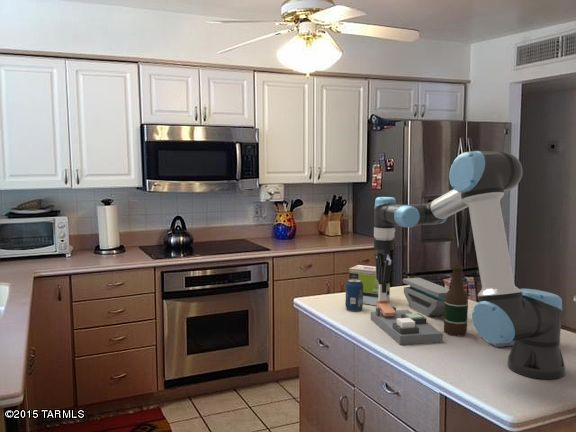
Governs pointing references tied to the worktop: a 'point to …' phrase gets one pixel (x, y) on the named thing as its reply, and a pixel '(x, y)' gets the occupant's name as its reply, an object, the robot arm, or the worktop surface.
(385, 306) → the rocker switch
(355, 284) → the soda can
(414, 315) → the green button
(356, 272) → the tea box
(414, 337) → the control console
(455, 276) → the beer bottle
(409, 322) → the white button
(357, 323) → the worktop surface
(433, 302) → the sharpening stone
